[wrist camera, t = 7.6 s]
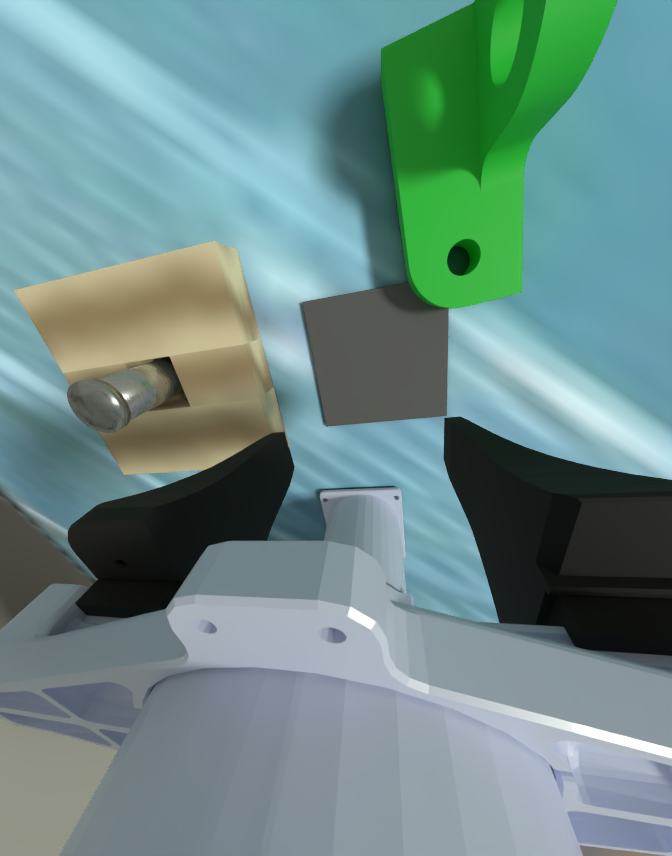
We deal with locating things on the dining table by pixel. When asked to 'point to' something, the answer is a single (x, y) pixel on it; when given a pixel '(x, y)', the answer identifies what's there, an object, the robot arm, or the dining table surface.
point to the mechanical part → (477, 133)
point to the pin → (123, 395)
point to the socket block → (167, 352)
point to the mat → (379, 355)
